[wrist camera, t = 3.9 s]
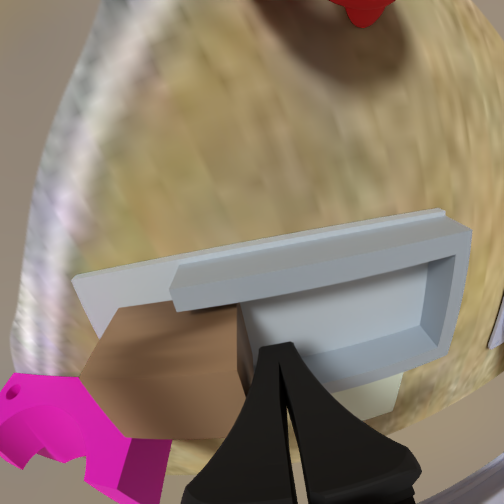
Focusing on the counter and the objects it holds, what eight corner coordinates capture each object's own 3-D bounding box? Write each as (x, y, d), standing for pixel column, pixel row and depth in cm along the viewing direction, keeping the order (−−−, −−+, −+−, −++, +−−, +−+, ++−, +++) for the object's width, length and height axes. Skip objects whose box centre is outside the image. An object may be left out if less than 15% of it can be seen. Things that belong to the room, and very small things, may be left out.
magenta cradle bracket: (53, 419, 18) (26, 477, 11) (13, 372, 16) (-25, 431, 9) (192, 432, 17) (178, 523, 10) (152, 376, 15) (116, 489, 8)
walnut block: (236, 289, 13) (237, 369, 8) (252, 354, 14) (258, 434, 10) (118, 307, 13) (78, 378, 8) (147, 366, 14) (125, 437, 10)
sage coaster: (404, 342, 16) (408, 348, 15) (390, 405, 18) (392, 411, 18) (298, 371, 16) (300, 378, 15) (304, 429, 18) (306, 435, 18)
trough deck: (438, 207, 12) (472, 224, 10) (424, 330, 15) (446, 357, 13) (76, 274, 13) (49, 302, 10) (132, 383, 16) (121, 416, 13)
